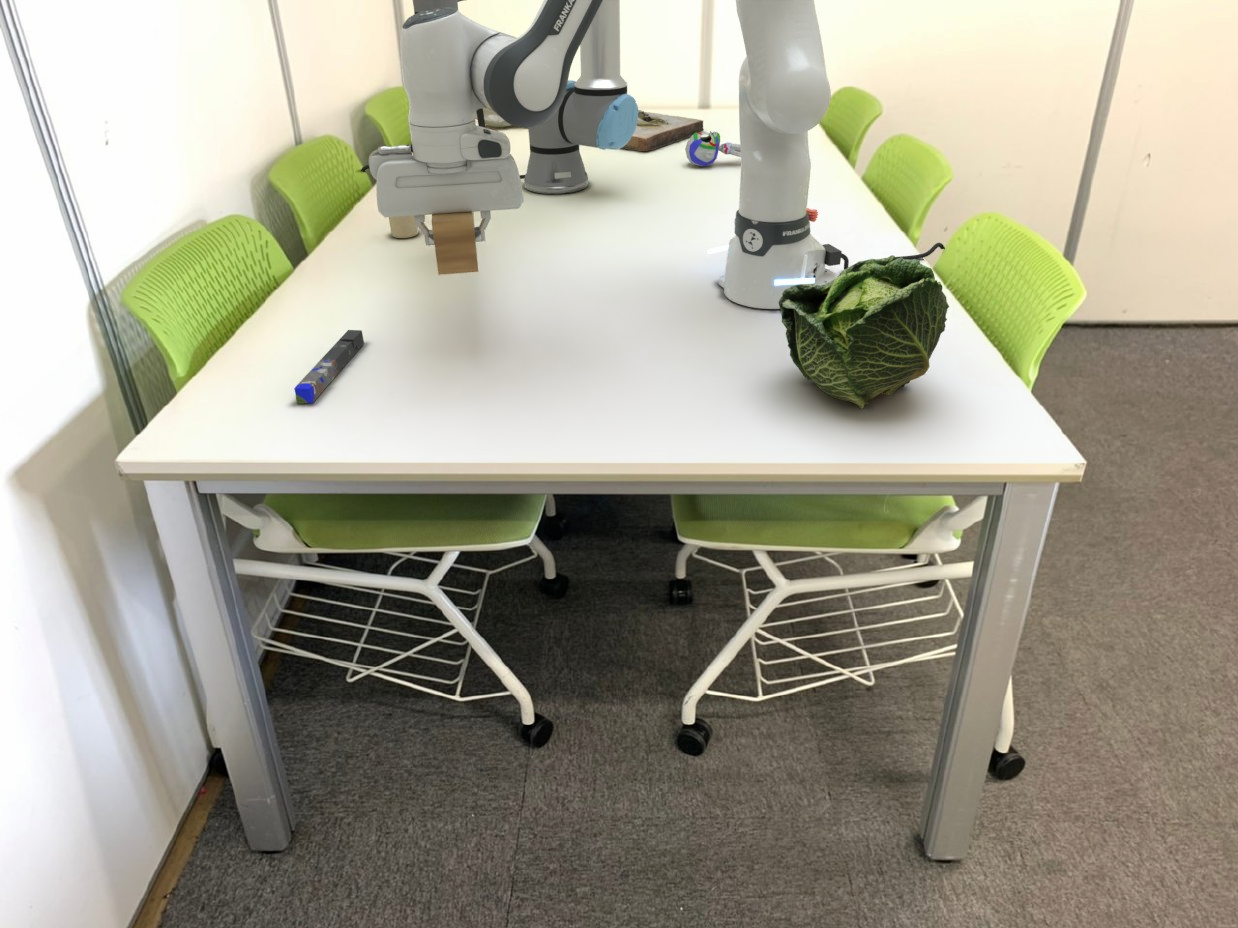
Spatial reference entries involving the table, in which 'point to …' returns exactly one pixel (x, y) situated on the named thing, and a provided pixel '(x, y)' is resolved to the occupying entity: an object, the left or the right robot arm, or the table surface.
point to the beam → (455, 242)
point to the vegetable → (865, 327)
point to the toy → (708, 148)
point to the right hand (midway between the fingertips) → (456, 242)
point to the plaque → (661, 130)
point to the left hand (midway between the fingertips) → (455, 177)
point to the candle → (403, 226)
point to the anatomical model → (493, 119)
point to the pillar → (328, 367)
